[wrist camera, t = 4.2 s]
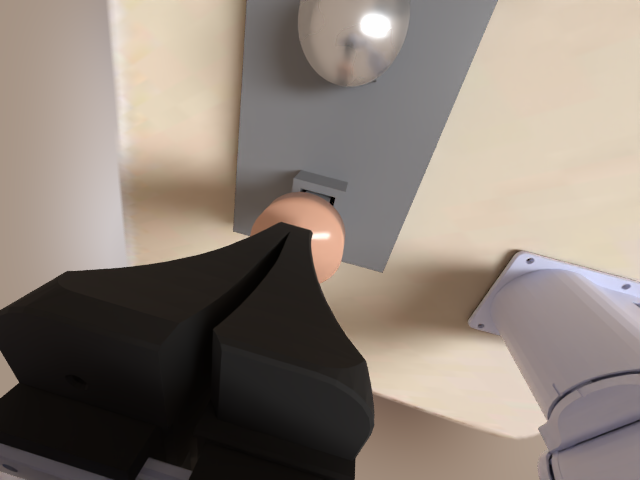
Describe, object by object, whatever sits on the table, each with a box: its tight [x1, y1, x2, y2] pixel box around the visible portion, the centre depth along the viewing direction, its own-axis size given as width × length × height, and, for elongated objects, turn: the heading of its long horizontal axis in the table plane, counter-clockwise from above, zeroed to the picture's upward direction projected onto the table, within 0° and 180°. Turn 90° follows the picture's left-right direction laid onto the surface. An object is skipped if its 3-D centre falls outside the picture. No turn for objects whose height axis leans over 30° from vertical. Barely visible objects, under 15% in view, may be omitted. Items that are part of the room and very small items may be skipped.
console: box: [233, 0, 498, 273], centre depth 16 cm, size 12×18×4 cm, turn 167°
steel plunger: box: [298, 0, 410, 87], centre depth 13 cm, size 4×4×6 cm
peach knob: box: [250, 191, 345, 283], centre depth 15 cm, size 4×4×6 cm
